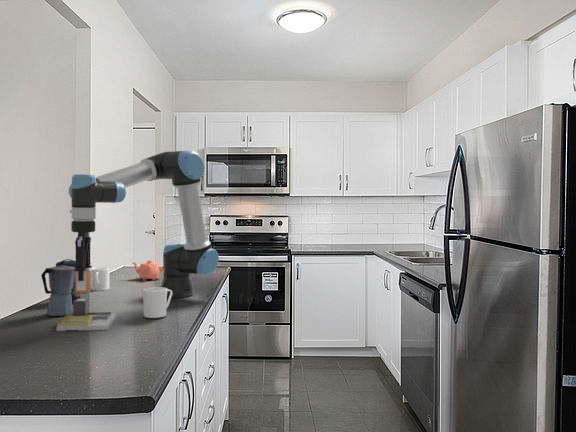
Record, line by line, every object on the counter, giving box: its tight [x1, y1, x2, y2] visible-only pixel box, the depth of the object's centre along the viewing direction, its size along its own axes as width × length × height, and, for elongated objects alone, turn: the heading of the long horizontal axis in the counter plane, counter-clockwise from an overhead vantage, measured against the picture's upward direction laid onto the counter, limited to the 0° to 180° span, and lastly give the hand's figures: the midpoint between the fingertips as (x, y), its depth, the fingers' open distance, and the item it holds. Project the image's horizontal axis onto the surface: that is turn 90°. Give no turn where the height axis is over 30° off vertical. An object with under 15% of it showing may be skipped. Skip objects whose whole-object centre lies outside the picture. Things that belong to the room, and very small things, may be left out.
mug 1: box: [90, 266, 110, 292], centre depth 237 cm, size 8×12×10 cm, turn 7°
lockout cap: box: [75, 269, 92, 294], centre depth 172 cm, size 5×5×8 cm
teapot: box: [130, 260, 163, 282], centre depth 267 cm, size 14×12×10 cm
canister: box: [55, 258, 82, 304], centre depth 209 cm, size 10×10×18 cm
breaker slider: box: [72, 298, 89, 316], centre depth 181 cm, size 4×4×6 cm
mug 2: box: [142, 286, 172, 320], centre depth 189 cm, size 11×9×10 cm
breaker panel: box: [56, 311, 117, 332], centre depth 177 cm, size 16×17×3 cm
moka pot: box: [41, 260, 76, 317], centre depth 189 cm, size 10×15×20 cm, turn 161°
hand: (83, 288), depth 173 cm, fingers closed on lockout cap, 5 cm apart
